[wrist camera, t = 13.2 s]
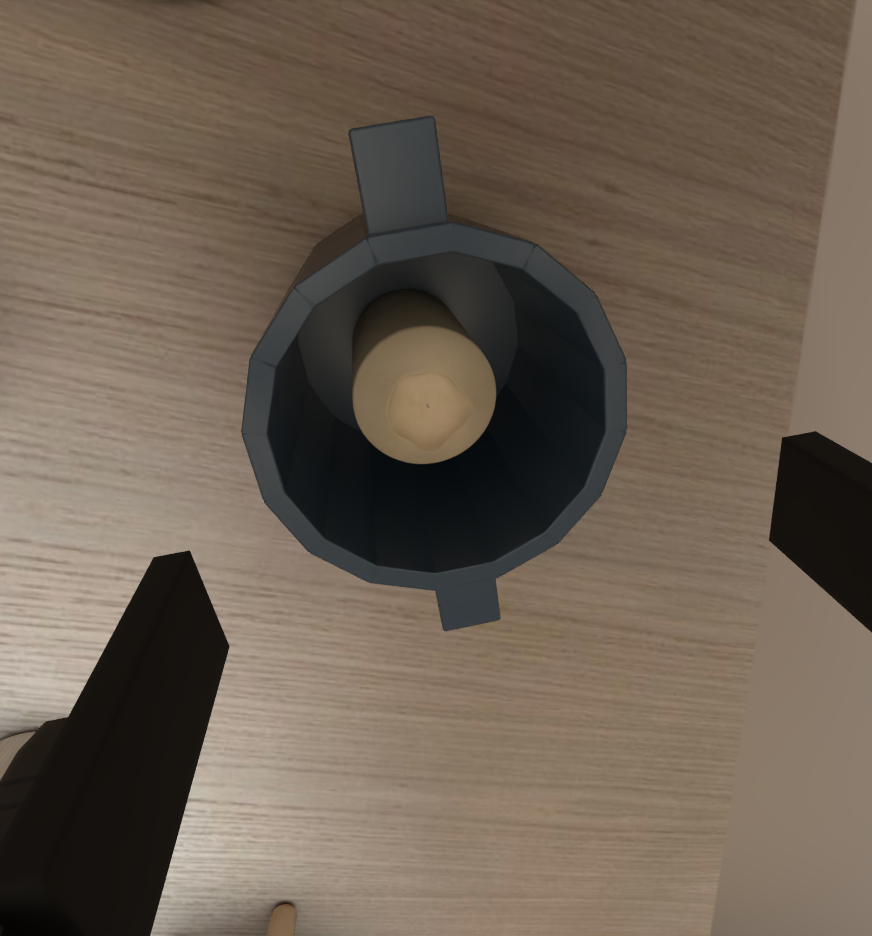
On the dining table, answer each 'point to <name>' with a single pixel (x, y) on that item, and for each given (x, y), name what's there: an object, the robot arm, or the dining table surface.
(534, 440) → the pot
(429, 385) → the candle
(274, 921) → the planter
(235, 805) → the dining table surface
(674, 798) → the dining table surface
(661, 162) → the dining table surface
